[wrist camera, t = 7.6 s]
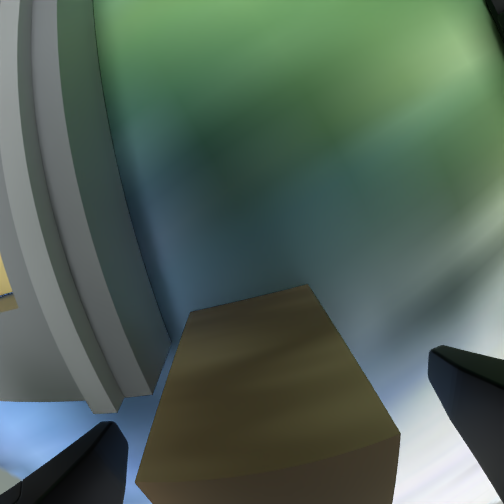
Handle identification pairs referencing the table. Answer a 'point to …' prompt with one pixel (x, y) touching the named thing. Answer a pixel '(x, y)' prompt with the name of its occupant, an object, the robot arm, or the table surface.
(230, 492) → the plug
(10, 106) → the socket block
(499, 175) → the table surface
